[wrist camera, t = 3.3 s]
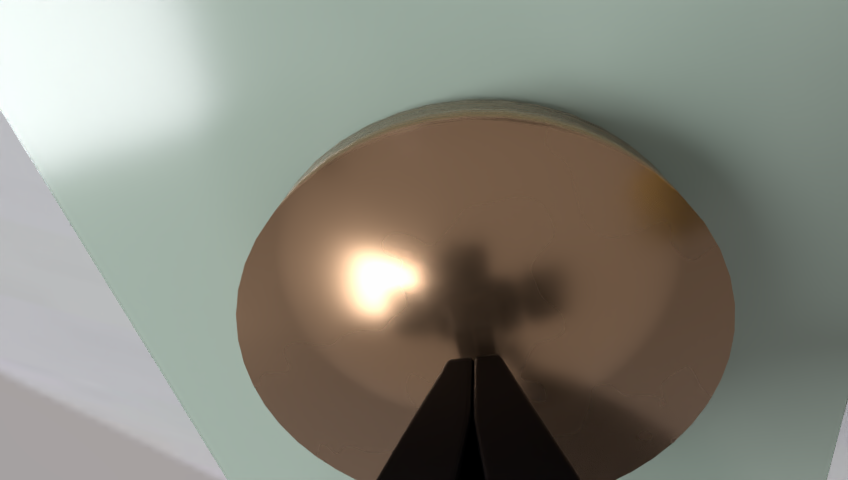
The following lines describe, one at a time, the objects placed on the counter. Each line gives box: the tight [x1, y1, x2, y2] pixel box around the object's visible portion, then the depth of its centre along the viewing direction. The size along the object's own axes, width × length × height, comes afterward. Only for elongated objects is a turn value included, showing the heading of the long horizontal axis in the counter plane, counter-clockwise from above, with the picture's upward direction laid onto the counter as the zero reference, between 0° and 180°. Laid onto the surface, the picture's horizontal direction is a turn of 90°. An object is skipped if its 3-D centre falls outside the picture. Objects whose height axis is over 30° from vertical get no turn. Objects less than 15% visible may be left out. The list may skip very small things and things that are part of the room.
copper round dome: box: [236, 99, 735, 480], centre depth 11 cm, size 8×8×5 cm
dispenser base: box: [0, 0, 848, 480], centre depth 12 cm, size 14×14×5 cm
